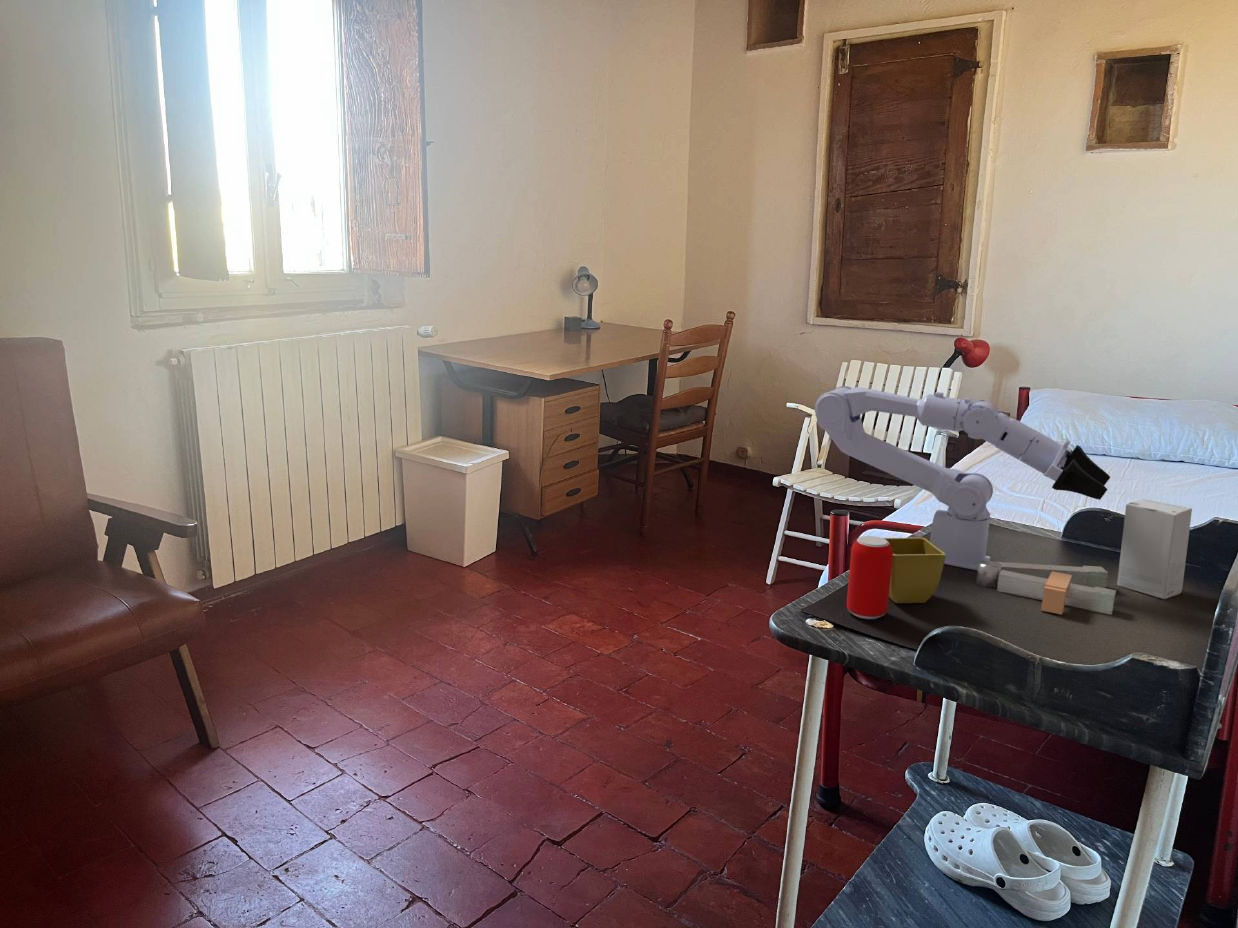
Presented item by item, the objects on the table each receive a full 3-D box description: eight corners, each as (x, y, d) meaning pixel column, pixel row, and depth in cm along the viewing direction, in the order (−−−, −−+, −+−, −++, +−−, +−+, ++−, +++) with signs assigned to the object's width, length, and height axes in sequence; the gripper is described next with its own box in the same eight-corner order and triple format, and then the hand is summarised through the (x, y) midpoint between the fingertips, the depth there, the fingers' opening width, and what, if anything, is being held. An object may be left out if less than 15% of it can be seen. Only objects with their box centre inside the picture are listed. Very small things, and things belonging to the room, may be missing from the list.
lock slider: (1041, 610, 143) (1044, 586, 142) (1048, 594, 150) (1052, 571, 149) (1061, 614, 142) (1065, 590, 141) (1068, 598, 148) (1072, 575, 148)
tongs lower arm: (996, 591, 151) (998, 573, 151) (999, 586, 154) (1002, 568, 153) (1111, 614, 143) (1114, 595, 142) (1113, 609, 145) (1116, 590, 144)
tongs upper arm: (979, 586, 153) (981, 566, 152) (972, 576, 158) (974, 557, 157) (1109, 594, 151) (1112, 575, 150) (1098, 584, 155) (1101, 565, 155)
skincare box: (1181, 594, 152) (1197, 508, 148) (1163, 601, 149) (1178, 514, 145) (1131, 578, 159) (1144, 496, 155) (1112, 584, 155) (1125, 501, 152)
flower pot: (868, 588, 152) (872, 536, 149) (919, 587, 152) (924, 536, 150) (887, 609, 143) (893, 555, 141) (941, 608, 144) (947, 554, 142)
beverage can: (840, 615, 140) (846, 541, 137) (854, 603, 145) (861, 531, 142) (878, 625, 137) (886, 549, 134) (892, 612, 142) (899, 539, 139)
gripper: (1036, 436, 148) (1117, 480, 144) (1047, 417, 160) (1122, 457, 156) (1012, 471, 151) (1090, 515, 147) (1024, 450, 163) (1097, 490, 159)
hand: (1105, 488), depth 152 cm, fingers open, 7 cm apart
